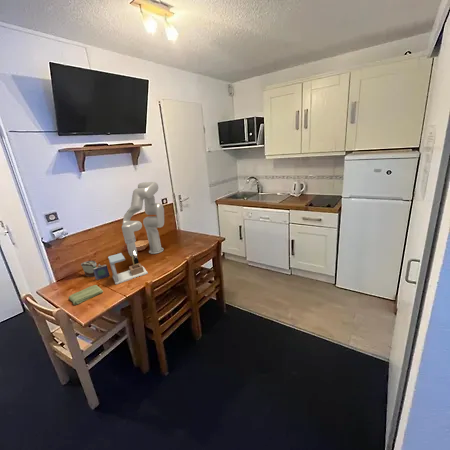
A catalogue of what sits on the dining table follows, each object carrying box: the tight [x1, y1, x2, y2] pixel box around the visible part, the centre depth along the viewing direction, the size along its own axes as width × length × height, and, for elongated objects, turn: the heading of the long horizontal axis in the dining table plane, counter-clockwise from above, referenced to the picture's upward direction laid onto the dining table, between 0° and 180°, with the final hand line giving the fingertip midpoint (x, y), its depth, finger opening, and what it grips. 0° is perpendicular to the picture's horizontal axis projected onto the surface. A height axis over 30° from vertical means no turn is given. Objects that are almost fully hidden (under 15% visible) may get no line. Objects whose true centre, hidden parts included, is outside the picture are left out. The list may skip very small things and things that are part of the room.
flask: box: [93, 263, 111, 281], centre depth 179 cm, size 9×3×11 cm, turn 121°
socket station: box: [107, 252, 149, 285], centre depth 178 cm, size 14×22×16 cm, turn 122°
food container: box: [80, 260, 98, 278], centre depth 187 cm, size 12×6×10 cm, turn 71°
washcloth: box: [68, 284, 104, 306], centre depth 159 cm, size 13×18×3 cm
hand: (135, 261), depth 190 cm, fingers open, 7 cm apart
